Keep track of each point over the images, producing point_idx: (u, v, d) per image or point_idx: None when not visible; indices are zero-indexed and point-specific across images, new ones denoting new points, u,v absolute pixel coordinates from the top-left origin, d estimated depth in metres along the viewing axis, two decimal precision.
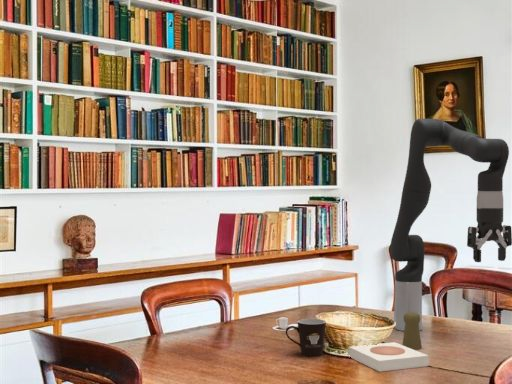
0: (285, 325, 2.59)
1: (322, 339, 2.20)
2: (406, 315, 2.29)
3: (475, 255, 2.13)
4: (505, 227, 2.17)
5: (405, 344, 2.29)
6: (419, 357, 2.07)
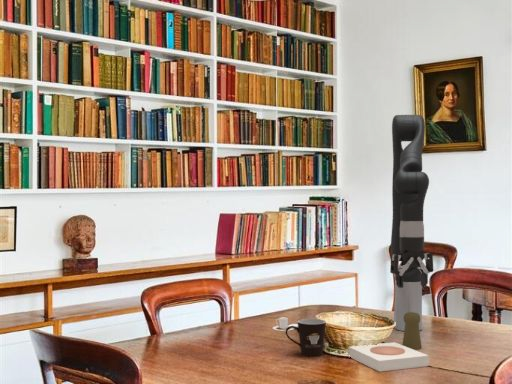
0: (285, 325, 2.59)
1: (322, 339, 2.20)
2: (406, 315, 2.29)
3: (398, 281, 2.28)
4: (427, 254, 2.31)
5: (405, 344, 2.29)
6: (419, 357, 2.07)
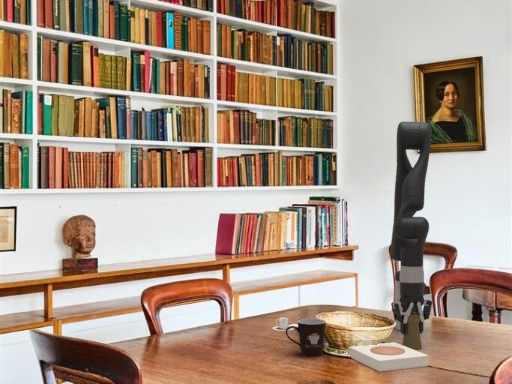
0: (285, 325, 2.59)
1: (322, 339, 2.20)
2: None
3: (402, 328, 2.28)
4: (427, 301, 2.31)
5: (405, 344, 2.29)
6: (419, 357, 2.07)
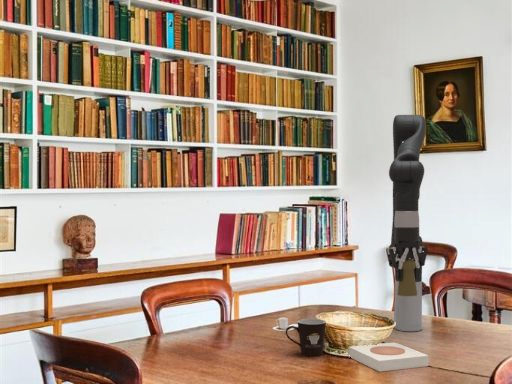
0: (285, 325, 2.59)
1: (322, 339, 2.20)
2: None
3: (397, 274, 2.24)
4: (422, 247, 2.27)
5: (400, 291, 2.24)
6: (419, 357, 2.07)
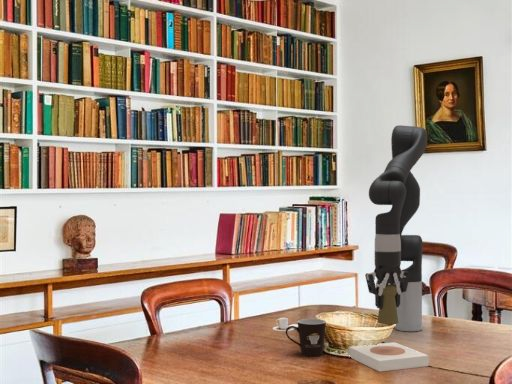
0: (285, 325, 2.58)
1: (322, 339, 2.20)
2: None
3: (377, 301, 2.11)
4: (404, 272, 2.14)
5: (380, 318, 2.12)
6: (419, 357, 2.07)
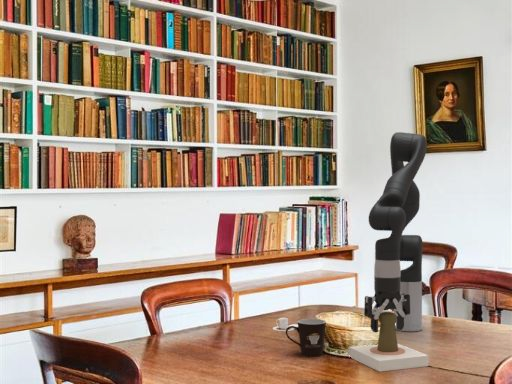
0: (285, 325, 2.58)
1: (322, 339, 2.20)
2: (381, 315, 2.12)
3: (372, 325, 2.11)
4: (404, 295, 2.14)
5: (380, 346, 2.12)
6: (419, 357, 2.07)
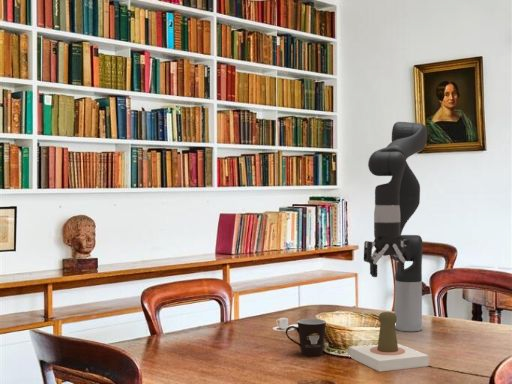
0: (285, 325, 2.58)
1: (322, 339, 2.20)
2: (381, 315, 2.12)
3: (371, 270, 2.11)
4: (403, 241, 2.14)
5: (380, 346, 2.12)
6: (419, 357, 2.07)
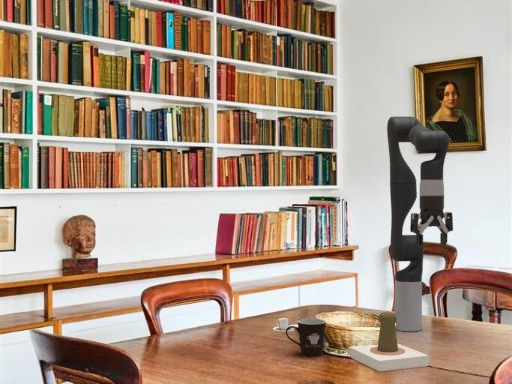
0: (285, 326, 2.58)
1: (322, 339, 2.20)
2: (381, 315, 2.12)
3: (417, 240, 2.28)
4: (446, 214, 2.31)
5: (380, 346, 2.12)
6: (419, 357, 2.07)
